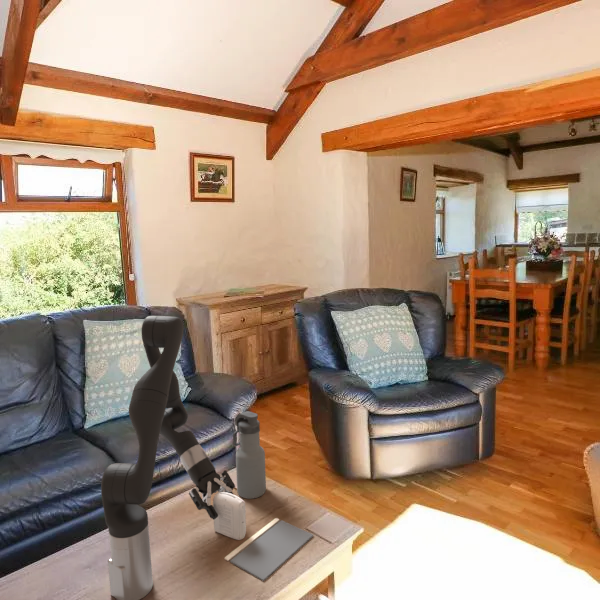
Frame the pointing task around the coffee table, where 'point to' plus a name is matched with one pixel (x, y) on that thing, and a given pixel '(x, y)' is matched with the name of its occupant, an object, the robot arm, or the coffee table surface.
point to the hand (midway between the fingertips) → (225, 511)
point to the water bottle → (249, 457)
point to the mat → (269, 548)
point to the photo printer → (230, 515)
